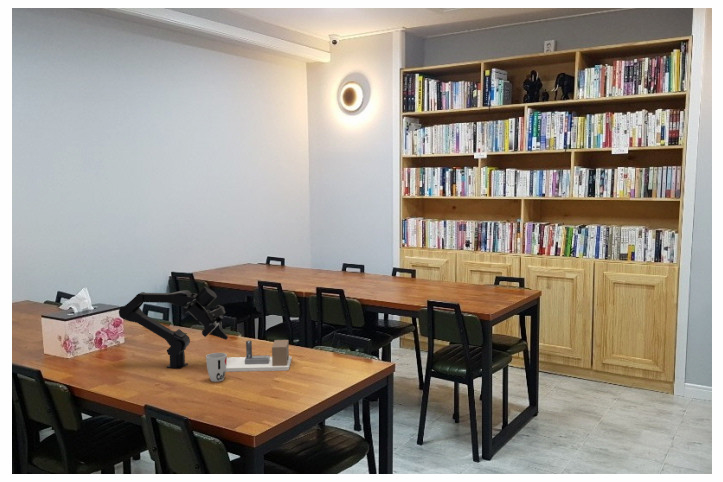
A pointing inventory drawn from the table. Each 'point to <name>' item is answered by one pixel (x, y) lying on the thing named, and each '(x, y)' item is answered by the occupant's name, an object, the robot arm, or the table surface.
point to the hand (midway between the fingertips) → (227, 338)
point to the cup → (216, 366)
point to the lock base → (263, 360)
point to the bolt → (249, 352)
